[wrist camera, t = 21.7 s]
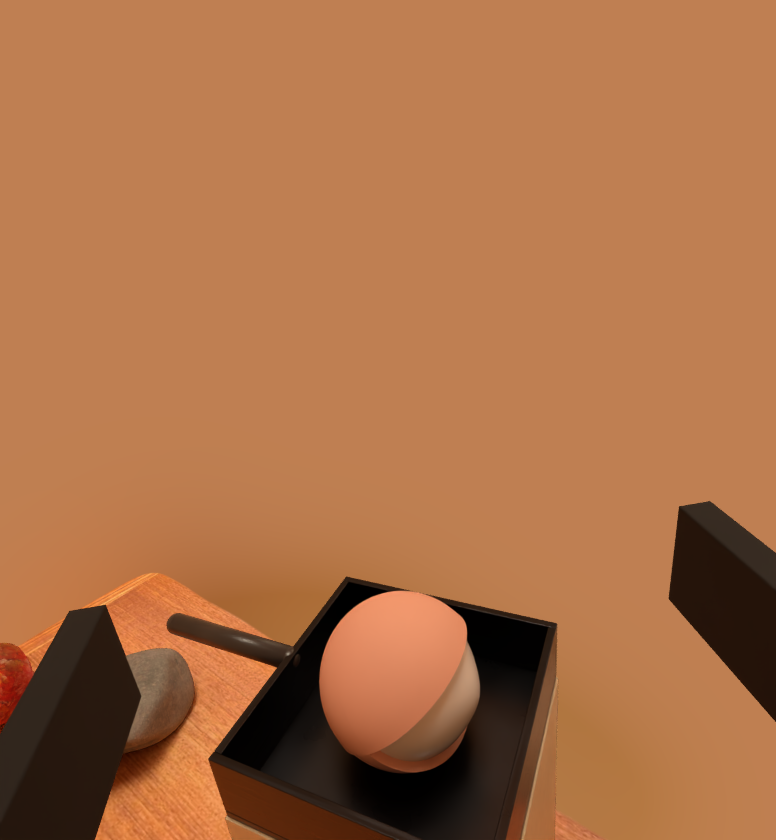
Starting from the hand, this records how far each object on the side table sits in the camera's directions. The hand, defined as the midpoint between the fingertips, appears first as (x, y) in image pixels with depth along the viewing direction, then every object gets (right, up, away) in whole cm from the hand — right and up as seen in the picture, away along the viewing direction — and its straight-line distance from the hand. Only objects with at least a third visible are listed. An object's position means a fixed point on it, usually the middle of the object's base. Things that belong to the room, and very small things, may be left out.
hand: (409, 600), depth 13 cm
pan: (-4, -12, +18) cm, 22 cm away
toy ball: (+1, -12, +16) cm, 20 cm away
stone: (-24, -26, +40) cm, 53 cm away
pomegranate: (-39, -25, +45) cm, 65 cm away
